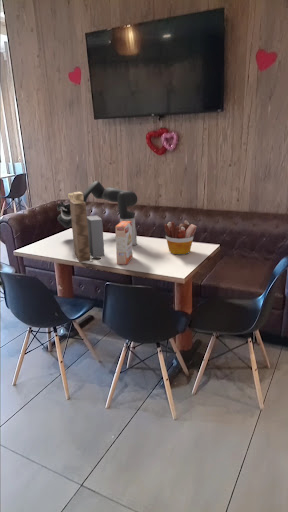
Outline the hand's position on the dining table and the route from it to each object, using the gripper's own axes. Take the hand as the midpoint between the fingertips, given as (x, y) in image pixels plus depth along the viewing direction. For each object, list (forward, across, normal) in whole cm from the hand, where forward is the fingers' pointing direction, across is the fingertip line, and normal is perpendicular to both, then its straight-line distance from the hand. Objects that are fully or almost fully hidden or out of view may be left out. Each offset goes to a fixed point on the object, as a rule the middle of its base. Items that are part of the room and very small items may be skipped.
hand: (70, 202), depth 217 cm
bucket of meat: (+18, -54, -44) cm, 72 cm away
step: (+2, -10, -34) cm, 36 cm away
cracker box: (+18, -21, -44) cm, 52 cm away
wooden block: (+5, -1, -36) cm, 36 cm away
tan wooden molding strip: (+17, 0, -6) cm, 18 cm away
